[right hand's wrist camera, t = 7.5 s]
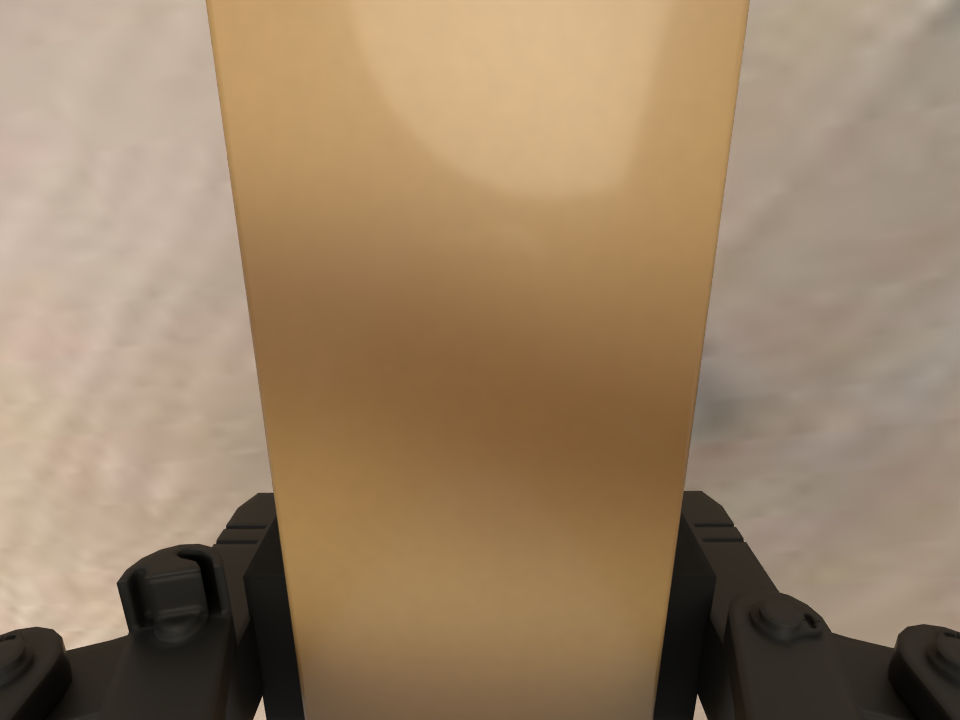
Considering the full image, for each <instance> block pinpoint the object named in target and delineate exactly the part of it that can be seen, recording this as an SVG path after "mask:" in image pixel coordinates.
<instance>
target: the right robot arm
mask: <svg viewBox="0 0 960 720" xmlns="http://www.w3.org/2000/svg"><path fill="white" fill-rule="evenodd" d="M117 586H118V590H119V594H120V598H121V602H122V606H123V610H124V614H125V618H126V622H127V625H128V629H129V634H128V635H127V636H123V637H120V638H117V639H114V640H110V641H106V642H102V643H97V644H93V645H89V646H85V647H80V648H76V649H72V650H68V651H66V649H65V646H64V643H63V639H62V637H61V636H60V635H59V634H58V633H56V632H55V631H54V630H53V629H48V628H41V627H32V628H25V629H18V630H14V631H11V632H8V633H5V634H3V635H0V720H253V718H254V716H255V713H256V711H257V708H258V706H259V703H260V701H261V698H262V695H263V701H264V707H265V713H266V719H267V720H305V716H304V708H303V701H302V694H301V687H300V679H299V672H298V665H297V658H296V650H295V643H294V636H293V629H292V621H291V614H290V607H289V600H288V592H287V585H286V578H285V571H284V564H283V556H282V549H281V542H280V535H279V527H278V520H277V513H276V506H275V498H274V493H258V494H256V495H255V496H254V497H252V498H251V499H250V500H248V501H247V502H245V503H244V504H243V505H241V506H240V507H239V508H238V509H237V510H236V512H235V513H234V515H233V516H232V518H231V519H230V521H229V522H228V524H227V525H226V529H224V530H223V531H222V533H221V534H220V536H219V537H218V539H217V542H216V544H214V545H213V547H209V546H205V545H201V544H185V545H177V546H173V547H169V548H165V549H161V550H159V551H157V552H155V553H153V554H150V555H148V556H146V557H144V558H142V559H140V560H139V561H138V562H136V563H135V564H134V565H132V566H131V567H130V568H128V569H127V570H126V571H125V572H124V574H123V575H122V577H121V578H120V579H119V581H118V582H117ZM697 693H698V696H699V699H700V701H701V704H702V706H703V709H704V711H705V714H706V716H707V719H708V720H960V632H957V631H954V630H951V629H948V628H945V627H940V626H932V625H925V624H922V625H915V626H909V627H907V628H905V629H904V630H903V631H902V632H901V633H900V634H899V635H898V638H897V641H896V644H895V647H894V648H890V647H886V646H882V645H877V644H873V643H869V642H865V641H860V640H856V639H852V638H848V637H845V636H841V635H838V634H835V633H832V632H831V630H830V629H829V627H828V626H827V624H826V623H825V621H824V620H823V618H822V617H821V616H820V615H819V614H818V613H816V612H815V611H814V610H813V609H812V608H811V607H809V606H808V605H807V604H805V603H803V602H801V601H799V600H797V599H795V598H793V597H791V596H789V595H786V594H783V593H779V591H778V590H777V588H776V587H775V585H774V584H773V582H772V581H771V579H770V578H769V576H768V575H767V573H766V572H765V570H764V569H763V567H762V566H761V564H760V563H759V561H758V560H757V558H756V556H755V555H754V553H753V552H752V550H751V549H750V547H749V546H748V544H747V543H746V542H744V540H743V537H742V535H741V534H740V532H739V531H738V529H737V528H736V527H734V523H733V522H732V520H731V519H730V517H729V516H728V514H727V513H726V511H725V510H724V508H723V507H722V506H721V505H720V504H718V503H717V502H716V501H714V500H713V499H712V498H710V497H709V496H708V495H706V494H705V493H703V492H702V491H684V492H683V499H682V507H681V514H680V522H679V529H678V536H677V544H676V551H675V559H674V566H673V574H672V581H671V588H670V596H669V603H668V611H667V618H666V626H665V633H664V640H663V648H662V655H661V663H660V670H659V677H658V685H657V692H656V700H655V707H654V715H653V720H693V717H694V711H695V705H696V699H697Z"/></svg>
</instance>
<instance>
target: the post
mask: <svg viewBox="0 0 960 720" xmlns="http://www.w3.org/2000/svg"><path fill="white" fill-rule="evenodd" d="M749 2H750V0H206V5H207V13H208V20H209V27H210V34H211V42H212V49H213V56H214V63H215V71H216V78H217V85H218V92H219V100H220V107H221V114H222V121H223V129H224V136H225V143H226V150H227V158H228V165H229V172H230V179H231V187H232V194H233V201H234V208H235V216H236V223H237V230H238V237H239V245H240V252H241V259H242V266H243V274H244V281H245V288H246V295H247V303H248V310H249V317H250V324H251V332H252V339H253V346H254V353H255V361H256V368H257V375H258V382H259V390H260V397H261V404H262V411H263V419H264V426H265V433H266V440H267V448H268V455H269V462H270V469H271V477H272V484H273V491H274V498H275V506H276V513H277V520H278V527H279V535H280V542H281V549H282V556H283V564H284V571H285V578H286V585H287V592H288V600H289V607H290V614H291V621H292V629H293V636H294V643H295V650H296V658H297V665H298V672H299V679H300V687H301V694H302V701H303V708H304V716H305V720H653V715H654V707H655V700H656V692H657V685H658V677H659V670H660V663H661V655H662V648H663V640H664V633H665V626H666V618H667V611H668V603H669V596H670V588H671V581H672V574H673V566H674V559H675V551H676V544H677V536H678V529H679V522H680V514H681V507H682V499H683V492H684V485H685V477H686V470H687V462H688V455H689V447H690V440H691V433H692V425H693V418H694V410H695V403H696V396H697V388H698V381H699V373H700V366H701V358H702V351H703V344H704V336H705V329H706V321H707V314H708V307H709V299H710V292H711V284H712V277H713V269H714V262H715V255H716V247H717V240H718V232H719V225H720V218H721V210H722V203H723V195H724V188H725V180H726V173H727V166H728V158H729V151H730V143H731V136H732V129H733V121H734V114H735V106H736V99H737V91H738V84H739V77H740V69H741V62H742V54H743V47H744V39H745V32H746V25H747V17H748V10H749Z"/></svg>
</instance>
